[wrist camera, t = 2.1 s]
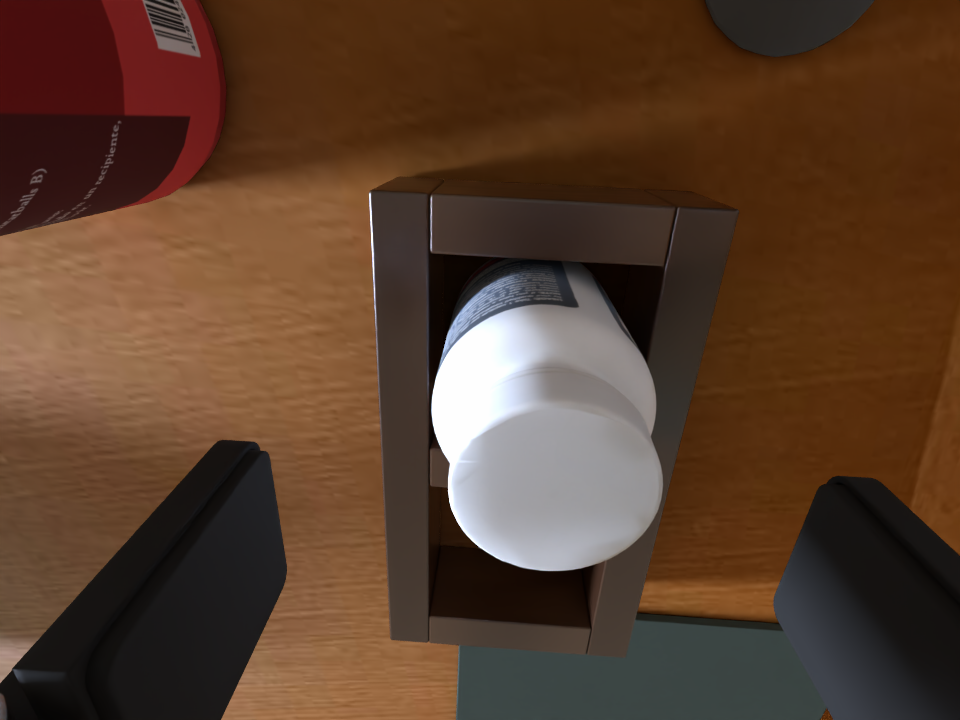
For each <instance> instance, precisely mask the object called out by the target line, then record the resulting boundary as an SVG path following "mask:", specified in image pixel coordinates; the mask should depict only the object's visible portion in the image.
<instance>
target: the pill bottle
mask: <svg viewBox="0 0 960 720" xmlns="http://www.w3.org/2000/svg"><path fill="white" fill-rule="evenodd" d="M655 416H656V393H655V387H654V383H653V379H652V376H651V374H650V371H649V368H648V366H647V364H646V361H645V359H644V357H643V355H642V353H641V352H640V350H639V349H638V347H637V345H636V343H635V342H634V340H633V339H632V337H631V335H630V333H629V332H628V330H627V328H626V326H625V325H624V323H623V321H622V320H621V318H620V316H619V314H618V313H617V311H616V309H615V307H614V306H613V304H612V302H611V301H610V299H609V297H608V295H607V294H606V292H605V290H604V288H603V287H602V285H601V284H600V283H599V281H598V280H597V279H596V278H595V276H594V275H593V274H592V273H591V272H590V271H589V270H588V269H587V268H586V267H585V266H583V265H582V264H581V263H579V262H573V261H555V260H537V259H519V258H501V257H494V258H492V259H490V260H489V261H487V262H485V263H484V264H483V265H482V266H480V267H479V268H478V269H477V270H476V271H475V272H474V273H473V274H472V275H471V276H470V277H469V279H468V280H467V281H466V283H465V284H464V286H463V288H462V289H461V291H460V293H459V295H458V298H457V301H456V303H455V307H454V310H453V314H452V318H451V322H450V326H449V330H448V334H447V338H446V342H445V346H444V349H443V353H442V357H441V361H440V365H439V368H438V372H437V376H436V381H435V386H434V390H433V398H432V418H433V425H434V429H435V433H436V436H437V439H438V442H439V444H440V447H441V449H442V451H443V453H444V454H445V456H446V457H447V459H448V460H449V462H450V469H449V477H448V493H449V502H450V504H451V509H452V511H453V514H454V516H455V518H456V520H457V522H458V524H459V525H460V527H461V528H462V530H463V531H464V532H465V533H466V535H467V536H468V537H469V538H470V539H471V540H472V541H473V542H474V543H475V544H476V545H478V546H479V547H480V548H481V549H483V550H484V551H486V552H487V553H489V554H491V555H492V556H494V557H496V558H497V559H500V560H501V561H505V562H507V563H511V564H513V565H516V566H519V567H523V568H528V569H534V570H541V571H564V570H574V569H580V568H584V567H588V566H591V565H595V564H598V563H601V562H603V561H605V560H608V559H610V558H612V557H614V556H616V555H618V554H619V553H621V552H622V551H624V550H625V549H627V548H628V547H630V546H631V545H632V544H633V543H634V542H635V541H636V540H637V539H638V538H640V537H641V536H642V535H643V533H644V532H645V531H646V529H647V528H648V527H649V525H650V524H651V522H652V521H653V519H654V517H655V515H656V513H657V511H658V508H659V505H660V502H661V497H662V489H663V474H662V469H661V464H660V461H659V458H658V455H657V452H656V450H655V447H654V444H653V442H652V439H651V434H652V431H653V427H654V422H655Z"/></svg>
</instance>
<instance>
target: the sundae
mask: <svg viewBox="0 0 960 720" xmlns="http://www.w3.org/2000/svg"><path fill="white" fill-rule="evenodd" d="M874 1H875V0H705V2H706V5H707V7H708V9H709V12H710V14H711V16H712V18H713V20H714V23H715V24H716V25H717V26H718V27H719V28H720V29H721V31H722V32H723V33H724V34H725V35H726V36H727V37H728V38H729V39H730V40H732V41H733V42H734V43H735V44H737V45H738V46H739V47H740V48H743V49H746V50H749V51H751V52H754V53H757V54H762V55H767V56H773V57H778V56H786V55H794V54H798V53H802V52H806V51H810V50H813V49H815V48H817V47H819V46H821V45H823V44H824V43H826V42H828V41H830V40H832V39H833V38H835V37H836V36H838V35H839V34H841V33H842V32H844V31H845V30H847V29H848V28H849V27H851V26H852V25H853V24H854V23H855V22H856V21H857V20H858V19H859V18H860V16H861V15H862V14H863V13H864V12H865V11H866V10H867V9H868V8H869V7H870V5H871V4H872V3H873V2H874Z"/></svg>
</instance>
